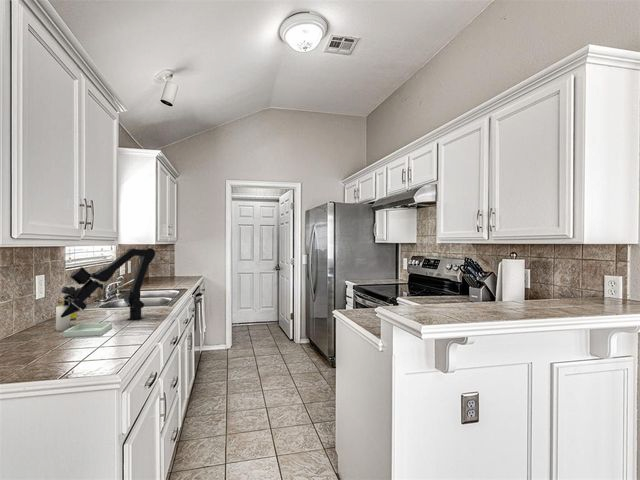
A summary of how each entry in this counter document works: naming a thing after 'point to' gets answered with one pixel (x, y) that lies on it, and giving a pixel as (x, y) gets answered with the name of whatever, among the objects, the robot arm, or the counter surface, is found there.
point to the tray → (87, 330)
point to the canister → (62, 319)
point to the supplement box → (72, 316)
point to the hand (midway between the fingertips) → (59, 316)
